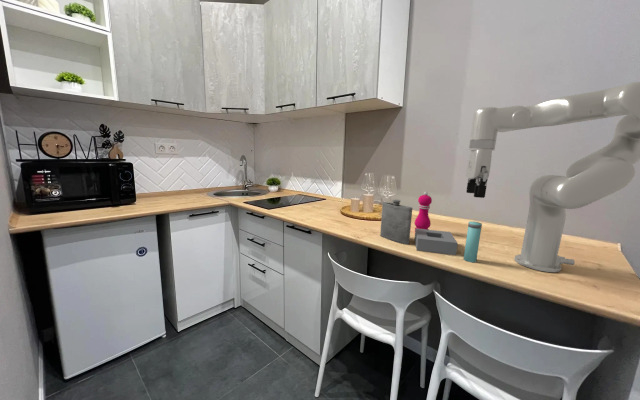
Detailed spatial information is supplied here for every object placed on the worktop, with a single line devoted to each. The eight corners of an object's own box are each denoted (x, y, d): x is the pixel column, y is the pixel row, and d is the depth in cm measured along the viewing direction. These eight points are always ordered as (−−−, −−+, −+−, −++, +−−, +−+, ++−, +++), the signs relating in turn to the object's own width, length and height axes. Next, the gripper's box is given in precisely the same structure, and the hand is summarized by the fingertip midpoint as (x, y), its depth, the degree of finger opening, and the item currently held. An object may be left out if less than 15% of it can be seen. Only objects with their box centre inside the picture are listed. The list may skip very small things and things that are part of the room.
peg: (474, 258, 93) (480, 222, 90) (477, 263, 89) (483, 225, 86) (462, 257, 94) (467, 221, 91) (464, 261, 90) (470, 224, 88)
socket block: (448, 243, 109) (450, 231, 108) (455, 255, 96) (457, 242, 95) (414, 239, 113) (415, 228, 112) (416, 250, 99) (417, 238, 99)
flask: (405, 245, 105) (409, 203, 101) (377, 236, 115) (380, 197, 112) (410, 243, 107) (414, 202, 103) (382, 234, 118) (385, 196, 114)
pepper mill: (426, 230, 126) (431, 190, 122) (431, 235, 119) (436, 193, 115) (412, 229, 127) (415, 190, 123) (415, 234, 120) (420, 192, 116)
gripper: (463, 146, 95) (457, 190, 99) (477, 144, 79) (469, 198, 82) (486, 146, 93) (479, 192, 97) (504, 145, 77) (495, 200, 80)
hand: (474, 195), depth 89 cm, fingers open, 9 cm apart
